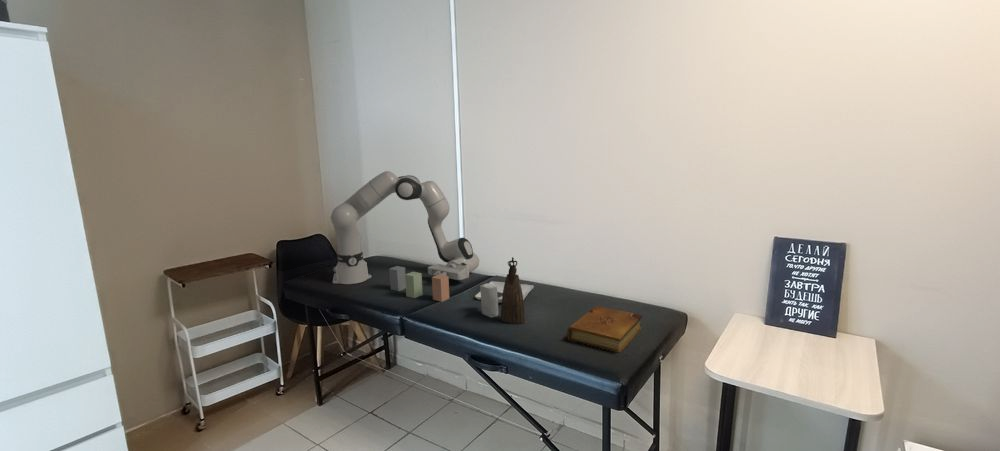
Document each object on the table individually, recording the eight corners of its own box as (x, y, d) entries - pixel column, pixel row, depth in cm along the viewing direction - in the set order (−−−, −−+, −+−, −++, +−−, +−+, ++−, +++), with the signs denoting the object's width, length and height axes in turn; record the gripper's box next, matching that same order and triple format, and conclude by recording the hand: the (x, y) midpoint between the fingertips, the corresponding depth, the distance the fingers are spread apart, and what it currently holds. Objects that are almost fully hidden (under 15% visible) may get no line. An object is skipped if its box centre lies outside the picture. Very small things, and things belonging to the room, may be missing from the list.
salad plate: (521, 308, 192) (521, 300, 192) (474, 303, 199) (473, 295, 198) (534, 291, 212) (534, 284, 211) (490, 287, 219) (490, 280, 218)
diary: (593, 319, 180) (593, 305, 179) (641, 330, 170) (642, 315, 169) (567, 341, 162) (567, 325, 160) (619, 354, 151) (620, 338, 150)
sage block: (414, 293, 209) (413, 271, 207) (422, 295, 206) (421, 273, 204) (406, 296, 205) (405, 274, 203) (414, 298, 202) (413, 276, 200)
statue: (521, 315, 184) (520, 255, 178) (526, 323, 177) (525, 261, 170) (499, 318, 182) (498, 257, 176) (504, 326, 175) (502, 263, 169)
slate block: (398, 286, 219) (397, 265, 217) (406, 288, 216) (404, 267, 214) (390, 289, 215) (389, 268, 213) (398, 291, 212) (396, 270, 210)
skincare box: (499, 315, 185) (498, 286, 182) (490, 318, 182) (489, 288, 180) (489, 311, 189) (488, 282, 187) (480, 313, 187) (479, 285, 184)
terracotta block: (440, 296, 204) (439, 274, 202) (449, 298, 201) (448, 276, 199) (432, 299, 200) (431, 277, 198) (441, 301, 197) (440, 279, 195)
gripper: (438, 259, 232) (419, 266, 221) (471, 265, 221) (452, 273, 210) (439, 272, 234) (419, 279, 223) (471, 278, 222) (452, 286, 211)
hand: (435, 276), depth 216 cm, fingers closed
